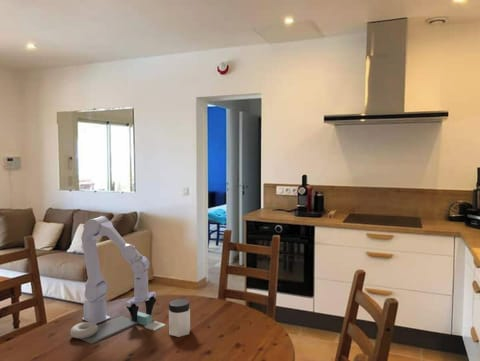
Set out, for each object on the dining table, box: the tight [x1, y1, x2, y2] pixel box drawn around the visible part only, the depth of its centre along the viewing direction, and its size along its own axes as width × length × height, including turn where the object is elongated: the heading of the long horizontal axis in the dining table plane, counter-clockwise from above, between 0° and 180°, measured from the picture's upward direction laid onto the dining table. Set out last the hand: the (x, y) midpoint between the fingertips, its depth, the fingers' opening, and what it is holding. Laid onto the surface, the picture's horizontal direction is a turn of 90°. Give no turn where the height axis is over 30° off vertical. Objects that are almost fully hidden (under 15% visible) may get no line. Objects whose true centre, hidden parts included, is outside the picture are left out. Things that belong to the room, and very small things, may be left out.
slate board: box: [78, 315, 139, 345], centre depth 159 cm, size 11×22×1 cm, turn 145°
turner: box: [129, 311, 167, 332], centre depth 164 cm, size 16×6×4 cm, turn 57°
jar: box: [168, 298, 191, 338], centre depth 156 cm, size 9×8×12 cm
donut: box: [69, 321, 98, 339], centre depth 153 cm, size 10×4×10 cm
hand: (141, 318), depth 166 cm, fingers open, 7 cm apart
